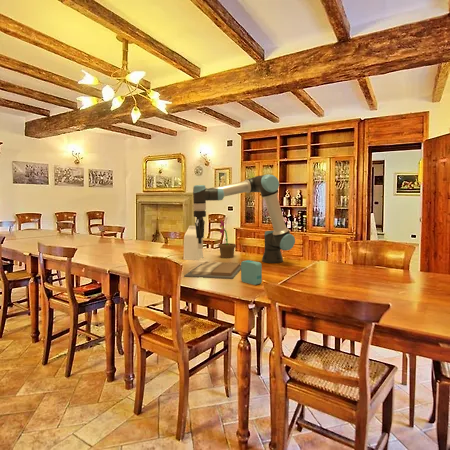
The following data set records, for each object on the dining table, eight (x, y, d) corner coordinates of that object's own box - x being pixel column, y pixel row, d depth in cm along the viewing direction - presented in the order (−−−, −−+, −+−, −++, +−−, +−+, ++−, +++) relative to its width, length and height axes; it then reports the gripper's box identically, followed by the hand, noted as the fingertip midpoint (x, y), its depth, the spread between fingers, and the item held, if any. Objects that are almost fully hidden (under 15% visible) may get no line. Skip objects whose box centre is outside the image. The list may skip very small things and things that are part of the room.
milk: (183, 259, 259) (182, 226, 256) (189, 257, 270) (188, 225, 267) (197, 260, 255) (197, 226, 253) (203, 257, 266) (202, 225, 264)
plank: (222, 265, 231) (222, 262, 230) (210, 275, 202) (210, 271, 201) (205, 264, 233) (205, 261, 233) (191, 274, 204) (191, 271, 204)
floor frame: (243, 266, 230) (243, 262, 230) (232, 279, 196) (232, 273, 196) (201, 265, 237) (201, 261, 237) (184, 276, 203) (184, 271, 203)
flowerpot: (216, 256, 271) (215, 219, 269) (232, 255, 276) (232, 218, 273) (221, 259, 258) (220, 220, 255) (238, 258, 262) (238, 220, 260)
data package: (262, 284, 184) (261, 262, 183) (256, 285, 181) (256, 263, 180) (246, 280, 193) (246, 259, 192) (240, 281, 190) (240, 260, 189)
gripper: (197, 210, 212) (197, 246, 214) (190, 211, 200) (191, 250, 202) (208, 210, 211) (209, 247, 213) (202, 210, 198) (203, 250, 200)
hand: (200, 248), depth 207 cm, fingers closed
